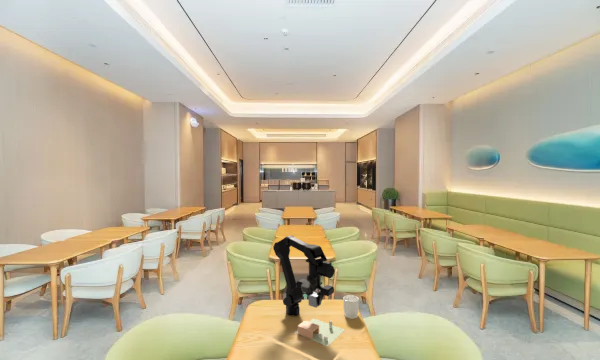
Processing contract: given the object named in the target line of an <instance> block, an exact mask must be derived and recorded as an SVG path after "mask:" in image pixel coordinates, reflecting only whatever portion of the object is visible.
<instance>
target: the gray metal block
mask: <svg viewBox="0 0 600 360" xmlns="http://www.w3.org/2000/svg"><path fill="white" fill-rule="evenodd" d="M317 293H318V292H315V291H313V293H311V294H309V299H308V306H310V307H313V308H317V309H318V308H319V306H321V305H322V303H321V304H320V305H319V306H318V295H317Z"/></svg>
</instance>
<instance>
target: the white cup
mask: <svg viewBox="0 0 600 360" xmlns="http://www.w3.org/2000/svg"><path fill="white" fill-rule="evenodd" d="M342 299H343V300H342V301H343V302H342V303H343V313H344V317H345V318H347V319H351V320H352V319H357V318H358V315H359V314H358V313H359V303H360V302H359V301H360V299H359V297H358V296H357V295H354V294H346V295H344V296H343V297H342Z"/></svg>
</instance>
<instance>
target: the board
mask: <svg viewBox="0 0 600 360" xmlns="http://www.w3.org/2000/svg"><path fill="white" fill-rule="evenodd" d="M308 322H311V323H314V324H316V325H319V334H317V333H315V332H313V339H310V338H308V337H305V336H303V335H300V334H298V329H297V330H296V331H294V334H295V335H299V336H301V337H304V338H306V339H309V340H311V341H313V342H316V343H318V344H321V345H323V346H324V347H325V346H326V347H329V346H330V345H331V343H333V342H334V341H335V340H336V339H337V338H338V337H339V336H341V334H343V333H344V331H346V330H345V329H344V328H341V327H339V326H335V325H333V320H329V322H325V321H322V320H319V319H317V318H314V317H312V319H310V320H309V321H308Z"/></svg>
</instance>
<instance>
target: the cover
mask: <svg viewBox="0 0 600 360" xmlns="http://www.w3.org/2000/svg"><path fill="white" fill-rule="evenodd" d="M297 330H298V334H297V335H299V334H300V335H299V336H301V335H303V336H305V337H304V338H306V337H308V338H310V339H309V340H311V339H313V332H315V333H317V334H319V325H316V324H314V323H311V322H309V321H308V320H304V321H302V322H300V323H299V324H298V325H297ZM303 336H302V337H303ZM308 338H307V339H308Z"/></svg>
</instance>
